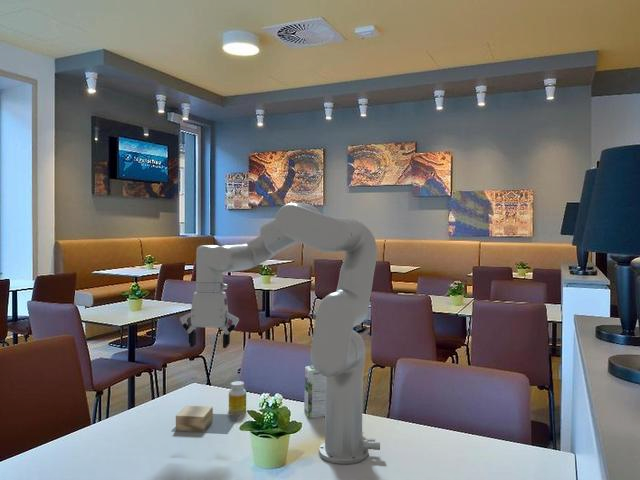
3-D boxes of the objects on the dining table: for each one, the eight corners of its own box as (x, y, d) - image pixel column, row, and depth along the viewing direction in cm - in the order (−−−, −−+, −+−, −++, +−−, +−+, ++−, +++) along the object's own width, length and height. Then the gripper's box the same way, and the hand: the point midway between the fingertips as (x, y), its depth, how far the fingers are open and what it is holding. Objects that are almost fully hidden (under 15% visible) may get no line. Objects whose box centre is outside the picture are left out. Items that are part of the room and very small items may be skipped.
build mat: (240, 418, 152) (240, 414, 152) (227, 438, 138) (227, 433, 138) (188, 416, 154) (188, 412, 154) (170, 435, 140) (170, 431, 140)
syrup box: (303, 412, 158) (303, 366, 157) (321, 410, 159) (321, 364, 159) (308, 418, 152) (308, 371, 152) (327, 416, 154) (327, 369, 154)
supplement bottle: (228, 411, 158) (228, 380, 158) (245, 410, 159) (245, 379, 159) (229, 417, 153) (229, 386, 153) (246, 416, 154) (246, 385, 154)
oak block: (212, 420, 148) (212, 406, 148) (203, 431, 140) (203, 416, 140) (186, 419, 148) (186, 405, 148) (175, 430, 141) (175, 415, 140)
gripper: (241, 286, 149) (241, 344, 150) (184, 285, 151) (184, 342, 151) (235, 290, 142) (235, 350, 142) (175, 288, 143) (175, 348, 144)
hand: (209, 346), depth 147 cm, fingers open, 9 cm apart
